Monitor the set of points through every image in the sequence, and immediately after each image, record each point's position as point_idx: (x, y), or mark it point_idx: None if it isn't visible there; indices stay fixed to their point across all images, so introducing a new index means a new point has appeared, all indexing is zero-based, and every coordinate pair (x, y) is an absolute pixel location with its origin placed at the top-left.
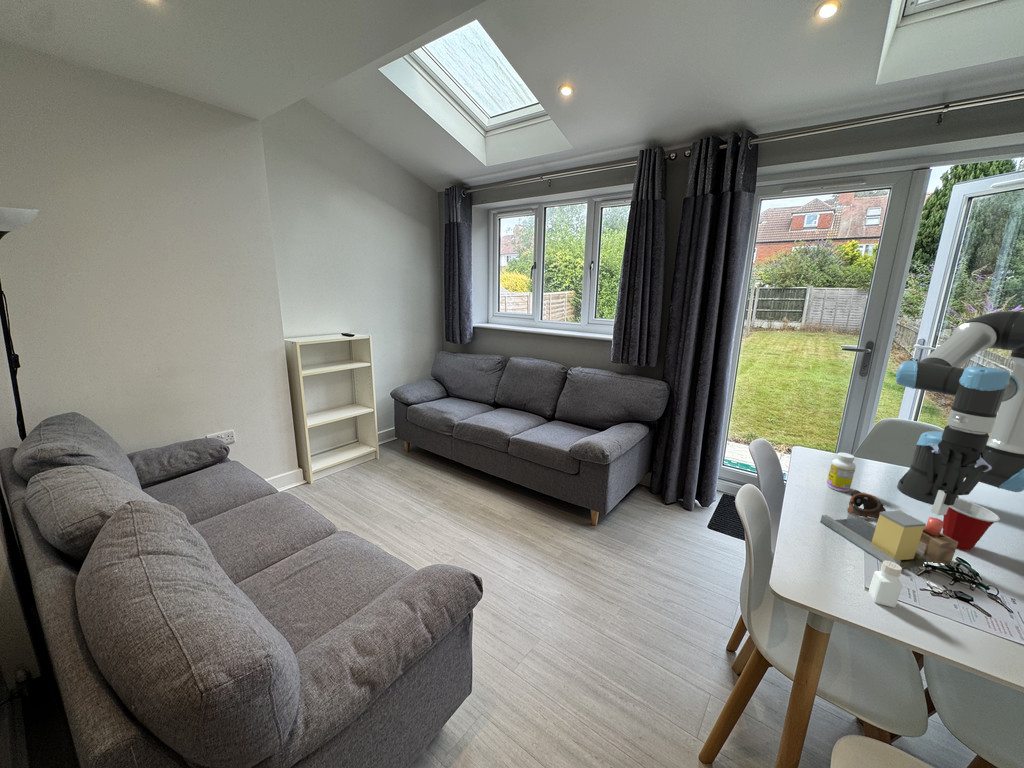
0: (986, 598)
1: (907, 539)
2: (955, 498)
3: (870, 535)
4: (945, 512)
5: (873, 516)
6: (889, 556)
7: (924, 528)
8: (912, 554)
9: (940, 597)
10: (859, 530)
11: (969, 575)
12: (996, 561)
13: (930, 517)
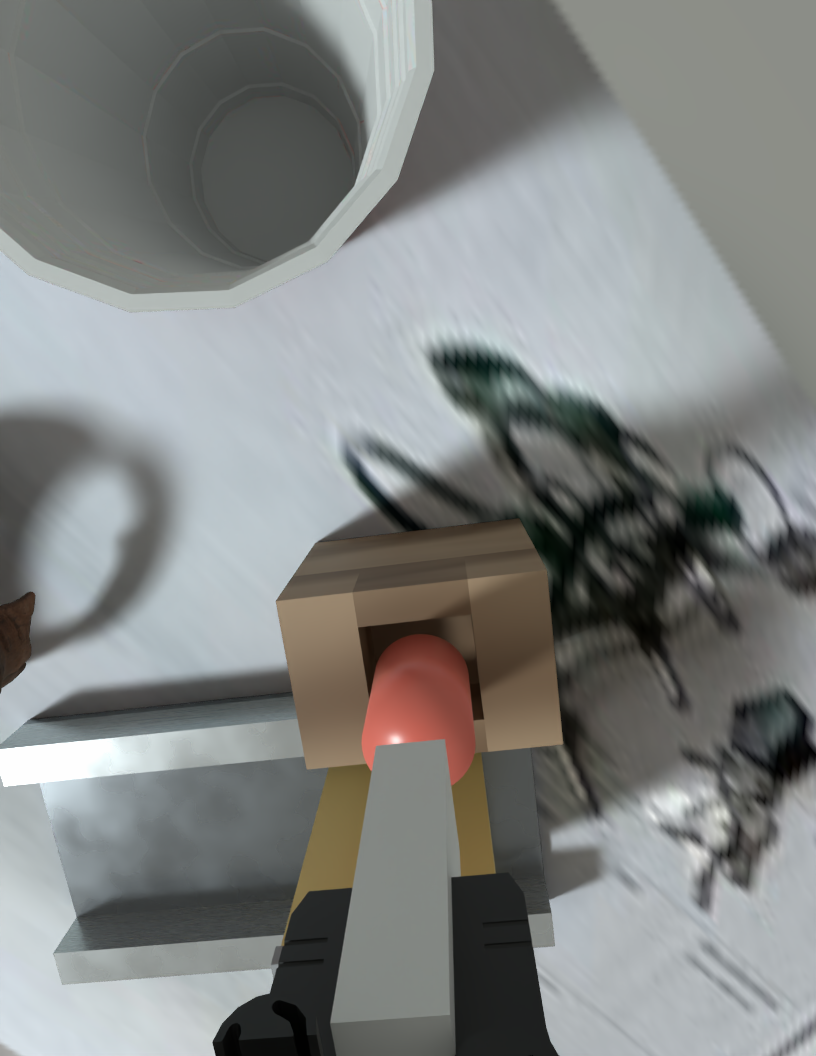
0: (805, 618)
1: None
2: (536, 983)
3: (226, 767)
4: (447, 775)
5: (30, 645)
6: None
7: (346, 660)
8: (483, 773)
9: (766, 861)
10: (172, 789)
11: (616, 493)
12: (482, 82)
13: (367, 751)
